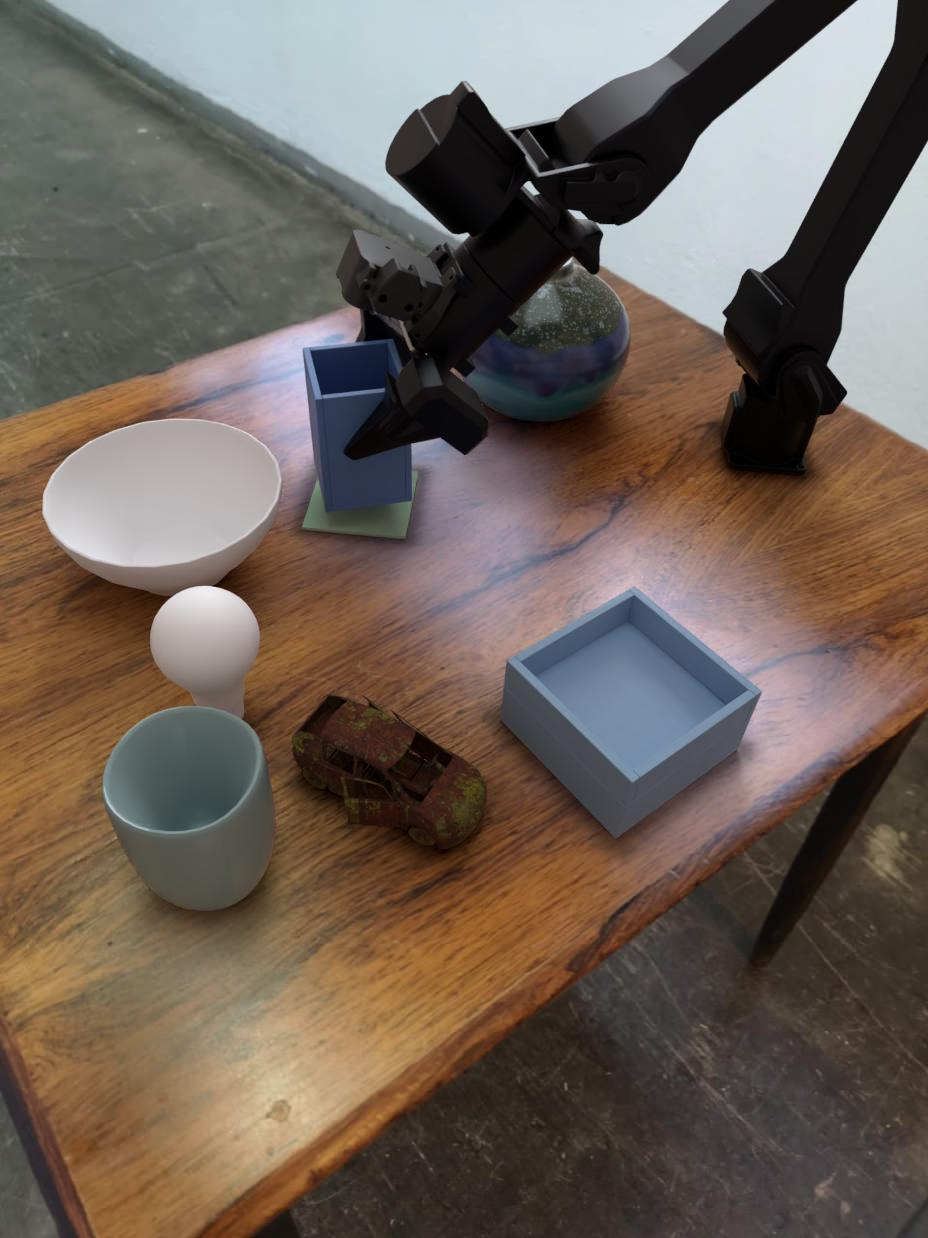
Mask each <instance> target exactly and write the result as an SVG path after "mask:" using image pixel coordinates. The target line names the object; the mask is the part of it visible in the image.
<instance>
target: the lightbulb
mask: <svg viewBox="0 0 928 1238" xmlns="http://www.w3.org/2000/svg"><path fill="white" fill-rule="evenodd" d="M152 621H153V622H152V625H151V629H150V634H149V635H150V637H149V638H150V639H149V645H150V651H151V654H152V658H153V660H154V662H155V664H156V667H157V668H158V669H159V670H160V672H161V673H162V674H163V675H164V677H166V678H167V679H168V680H170V681H171V682H172V683H174V684H175V685H177V686H178V687H180V688H181V689H183V690H186V691H187V692H188V693H189V694H190V696H191V698H192V701H193V702H194V704H195V706H203V707H211V708H215V709H219V710H223V711H226V712H228V713H231V714H233V715H235V716H237V717H239V718H241V719H242V720H243V718H244V716H245V704H244V698H245V692H246V689H245V687H246V686H245V678H246V676H247V675H248V674H249V672H250V671H251V669H252V667H253V665H254V663H255V661H256V659H257V657H258V654H259V650H260V644H261V632H260V627H259V623H258V620H257V617H256V616H255V614H254V613H253V611H252V609H251V608H250V607H249V605H248V604H247V603H246V602H245V601H244V600H243V599H242V598H241V597H240V596H238V595H236V594H235V593H233V592H232V591H230V590H227V589H224V588H221V587H216V586H197V587H192V588H188V589H186V590H183V591H181V592H179V593H177V594H176V595H174V596H171V597H170V598H168V599H167V600H166V601H165V603H163V605H162V606H161V607H160V609H159V610H158V611H157V613H156V615H155V616H154V619H153V620H152Z"/></svg>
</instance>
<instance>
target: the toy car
mask: <svg viewBox="0 0 928 1238" xmlns="http://www.w3.org/2000/svg"><path fill="white" fill-rule="evenodd" d="M362 697H363V698H364V699H365V700H366V701H367V702H368V705H366V704H365V703H364V704H363V703H361V702H359V701H356V700H354V699H351V698H349V697H346V696H345V697H344V696H341V695H337V694H336V695H335V694H328V695H327V696H326V697H325V698H324V699H322V701H320V703H318V705H317V706H316V707H315V709H314V710H313V711H312V712H311V713H310V714H309V715H308V716H307V718H306V719H305V720H304V721H303V722H302V723H301V725H300V726H299V727H298V728H297V729H296V730H295V732H294V733H293V734H292V738H291V743H292V748H291V751H292V755H293V759H294V762H295V763H296V765H297V767H298V769H299V770H300V771H302V770H303V769H304V768H305V769H304V770H303V771H302V774H303V777H304V779H305V780H306V781H307V782H308V783H309V784H310V785H311V786H313V787H314V788H316V789H319V790H325V789H326V788H328V790H329V792H332V793H334V794H335V795H338V796H340V797H342V798H343V804H344V807H345V810H346V819H347V825H354V826H372V827H386V828H387V827H388V828H401V829H402V830H403V831H407V830H408V835H409V837H410V838H411V839H412V840H413V841H415V842H416V843H418V844H421V845H424V846H434V845H435V844H436V845H437V848H439V849H441V850H447V849H450V848H454V847H456V846H459V844H461V843H462V842H463V841H464V840H466V839H467V838H468V836H470V834H471V833H472V832H473V831H474V829H475V828H476V826H477V825H478V823H479V821H480V820H481V818H482V817H483V815H484V813H485V810H486V807H487V806H486V805H487V801H488V800H487V799H488V787H487V785H486V782H485V780H484V778H483V777H482V774H481V772H480V770H479V769H478V767H477V766H475V765H473V764H472V763H470V761H467V760H466V759H464V758H463V757H461V756H460V755H458V754H456V753H455V752H453V751H451V750H450V749H447V748H446V747H444V746H442V745H440V744H438V743H437V742H436V741H434V740H432V739H431V738H430V737H429V736H428V735H427V734H426V733H424V732H423V731H421V729H419V728H418V727H416V726H415V725H414V724H412V723H411V722H410V721H408V720H406V719H405V718H404V717H403V716H401V715H400V714H398V713H397V712H395V711H394V710H392V709H390V710H389V711H390V712H391V713H392V714H393V715H394V717H395V718H394V717H393V716H391V715H389V714H387V712H385V710H383V709H382V708H381V707H380V706H378V705H377V704H376V703H375V702H373V701H372V700H371V699H369V698H368V697H367V696H365V695H362ZM410 751H412V752H413V753H412V752H410ZM414 753H415V754H414Z"/></svg>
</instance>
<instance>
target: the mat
mask: <svg viewBox="0 0 928 1238" xmlns="http://www.w3.org/2000/svg"><path fill="white" fill-rule="evenodd" d="M418 479H419V471H417V470H412V501H408V502H401V503H393V504H386V505H378V506H371V507H363V508H356V509H348V510H341V511H333V512H326V511H325V507H324V502H323V498H322V493H321V489H320V484H319V480H318V477H317V478H316V481H315V483H314V484H315V485H314V488H313V490H312V493H311V497H310V499H309V504H308V507H307V510H306V513H305V516H304V519H303V522H302V525H301V530H302V531H308V532H309V531H311V532H320V533H321V532H322V533H330V534H332V533H333V534H342V535H351V536H353V535H354V536H364V537H365V536H366V537H375V538H378V537H379V538H387V539H396V540H406V538H407V534H408V528H409V523H410V518H411V513H412V509H413V504H414V500H415V499H414V498H415V494H416V489H417V483H418Z"/></svg>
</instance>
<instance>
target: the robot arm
mask: <svg viewBox="0 0 928 1238" xmlns="http://www.w3.org/2000/svg"><path fill="white" fill-rule="evenodd" d="M858 1H859V0H728V1H726V2H725V3H724V4H723V5H722V6H720V7H719V9H717V10H716V11H715V12H714V13H713V14H711V16H709V17H707V19H705V21H704V22H702V23H701V24H700V25H699V26H698V27H697V28H696V29H694V30H693V31H692V32H691V33H690V34H689V35H688V36H686V37H685V38H684V39H683V40H682V41H680V42H679V43H678V44H677V45H676V46H675V47H674V48H673V49H672V50H670V51H669V53H667V54H666V55H664V56H663V57H661V58H660V59H658V60H657V61H655V62H654V63H652V64H651V65H648V66H646V67H644V68H641V69H638V70H635V71H632V72H630V73H627V74H624V75H621V76H619V77H614V78H613V79H611V80H610V81H608V82H607V83H605V84H603V85H602V86H600V87H599V88H597V89H596V90H594V91H593V92H591V93H590V94H588V95H586V96H585V97H583V98H582V99H580V100H578V101H577V102H575V103H574V104H573V105H571V106H570V107H568V108H567V109H566V110H564V113H563V114H561V116H556V117H552V118H547V119H543V120H538V121H533V122H528V123H523V124H519V125H515V126H510V127H504V126H503V125H502V124H501V123H500V122H499V121H498V120H497V118H496V117H495V116H494V115H493V114H492V113H491V112H490V110H489V108H488V106H487V105H486V103H485V102H484V101H483V99H482V98H481V97H480V95H479V94H478V92H477V91H476V90H475V89H474V87H473V86H471V84H470V83H469V82H468V81H467V80H462V81H460V82H459V83H458V84H457V86H456V87H455V88H454V89H453V90H452V91H451V92H450V93H449V94H442V95H439V96H437V97H434V98H433V99H432V100H430V101H429V102H427V103H426V104H425V105H423V106H422V107H421V108H416V109H414V110H413V111H412V112H411V113H410V115H408V117H407V118H406V119H405V120H404V122H403V123H402V125H400V126H399V129H398V131H397V132H396V134H394V137H393V138H392V141H391V143H390V145H389V147H388V150H387V152H386V156H385V161H384V164H385V165H384V166H385V172H386V173H387V174H388V175H389V176H390V177H391V178H392V179H393V180H394V181H395V182H396V183H397V184H398V185H399V186H400V187H401V188H403V189H404V190H405V192H407V193H408V194H409V195H410V196H411V197H412V198H413V199H414V200H415V201H416V202H417V203H418V204H420V205H421V206H422V207H423V208H424V209H425V210H426V211H427V213H429V214H430V215H431V216H432V217H433V218H434V219H435V220H436V221H437V222H438V223H440V224H441V225H442V226H443V227H444V228H445V229H446V230H447V231H448V232H450V233H451V234H452V235H458V236H459V235H463V234H468V236H467V238H465V240H463V241H462V242H461V243H460V244H459V246H458V247H456V249H455V248H454V247H453V246H452V245H451V244H450V243H448V241H445V243H444V244H442V243H440V244H437V245H436V246H435V247H434V248H433V249H432V250H431V251H430V252H429V253H428V254H427V255H423V254H421V253H419V252H417V251H414V250H413V249H411V248H409V247H407V246H405V245H403V244H401V243H398V242H395V241H392V240H389V239H388V238H384V237H382V236H380V235H376V234H373V233H371V232H369V231H366V230H362V229H357V228H355V229H353V230H352V232H351V234H350V236H349V240H348V242H347V244H346V247H345V248H344V252H343V254H342V257H341V259H340V262H339V264H338V265H337V266H338V267H337V269H336V272H335V277H336V279H338V280H339V283H340V286H341V297H342V298H343V299H344V301H345V302H346V303H348V304H349V305H350V306H352V307H353V308H356V309H359V314H360V315H359V316H360V330H359V333H358V335H357V337H356V339H355V341H354V343H356V342H366V341H376V340H386V339H393V341H394V344H395V346H396V349H397V352H398V355H399V357H400V360H401V363H402V366H403V368H402V369H401V371H400V374H399V376H398V379H396V378H395V377H393V376H392V375H391V374H389V373H388V372H387V371H385V374H384V387H385V396H384V399H383V400H382V401H381V403H380V404H379V405H378V406H377V408H376V409H375V410H374V411H373V412H372V414H371V415H370V416H369V417H368V419H367V420H366V421H365V422H364V423H363V425H362V426H361V427H360V428H359V430H358V431H357V432H356V433H355V434H354V436H353V437H352V439H351V440H350V441H349V443H348V444H347V446H346V447H345V449H344V454H345V456H347V457H348V458H350V459H352V460H359V459H362V458H365V457H369V456H372V455H375V454H379V453H382V452H385V451H388V450H392V449H395V448H398V447H402V446H406V445H409V444H412V445H413V444H417V443H422V442H427V441H432V440H438V439H441V440H443V442H445V443H446V444H448V445H449V446H450V447H452V448H453V449H455V450H456V451H458V452H459V453H460V454H462V456H468V455H470V454H471V452H473V451H474V450H475V449H476V448H477V447H479V445H480V444H482V443H483V442H484V441H485V440H486V439H487V438H488V436H489V423H490V421H489V417H488V416H487V413H486V411H485V408H484V406H483V404H482V401H480V399H479V397H478V395H477V393H476V391H475V390H473V389H472V388H471V387H470V386H468V385H467V384H466V383H465V382H464V380H463V379H461V378H459V376H458V375H456V374H455V373H454V372H453V371H451V370H452V369H454V370H455V371H456V372H458V373H459V374H460V376H461V375H463V376H464V377H465V378H466V377H467V376H468V375H469V374H470V373H471V372H472V371H473V370H474V369H475V368H476V367H475V365H474V363H473V361H472V358H471V355H472V354H473V353H474V352H475V351H476V350H477V349H478V348H479V347H480V346H481V345H482V344H483V343H484V342H485V341H486V340H487V339H488V338H490V337H491V336H492V335H493V334H494V333H495V332H496V331H497V330H498V329H500V330H501V331H502V332H503V333H504V334H506V335H507V336H508V337H509V336H510V335H511V334H512V333H513V332H514V331H515V330H516V329H517V328H518V327H519V326H518V324H517V322H516V320H515V318H514V316H513V314H514V313H515V312H516V311H517V310H518V309H519V308H520V307H521V306H522V305H523V304H524V303H525V302H526V301H527V300H529V299H530V298H531V297H532V296H533V295H534V294H535V293H536V292H537V291H538V290H539V289H540V288H541V287H542V286H543V285H544V284H545V283H546V282H547V281H548V280H549V279H550V278H551V277H552V276H553V275H554V274H555V273H556V272H557V271H558V270H559V269H560V268H561V267H562V266H563V265H564V264H565V263H566V262H567V261H569V260H570V259H571V258H572V257H573V258H574V260H576V261H577V262H578V263H579V264H580V266H581V267H583V268H585V269H586V270H587V271H588V272H589V273H590V274H591V275H597V274H598V273H599V272H600V270H601V252H600V251H601V243H602V241H603V237H604V232H603V230H601V228H600V226H599V225H615V226H617V227H619V226H623V225H625V224H628V223H630V222H632V221H633V220H635V219H636V218H638V217H640V216H642V214H643V213H644V212H645V211H646V210H647V209H648V208H649V207H650V206H651V205H652V204H653V203H654V202H655V201H656V200H657V199H658V197H659V196H660V195H661V194H662V193H663V192H664V191H665V190H666V189H667V188H668V187H669V185H670V184H671V183H672V182H673V181H674V180H675V179H676V178H677V177H678V176H679V175H680V174H681V172H682V170H683V169H684V167H685V164H686V162H687V161H688V159H689V157H690V155H691V153H692V150H693V149H694V147H695V145H696V143H697V141H698V140H699V138H700V137H701V135H702V134H703V133H704V132H705V131H706V130H707V129H708V128H709V127H710V126H711V125H712V124H713V122H715V121H716V120H717V119H718V118H719V117H721V116H722V115H723V114H724V113H725V112H727V111H728V110H729V109H730V108H731V107H733V106H734V105H735V104H736V103H738V101H740V100H741V99H742V98H743V97H744V96H745V95H747V94H748V93H749V92H750V91H752V89H754V88H755V87H757V86H758V84H760V83H761V82H762V81H763V80H764V79H766V78H767V77H768V76H769V75H771V74H772V73H773V72H774V71H775V70H776V69H778V68H779V67H780V66H781V65H782V64H783V63H785V62H786V61H788V59H790V58H791V57H792V56H793V55H795V53H797V52H798V51H799V50H801V49H802V48H803V47H805V45H806V44H808V43H809V42H810V41H811V40H813V38H815V37H816V36H817V35H818V34H819V33H821V32H822V31H823V30H825V29H826V27H828V26H829V25H830V24H832V23H833V22H834V21H835V20H836V19H837V18H838V17H840V16H841V15H842V14H843V13H845V12H846V11H847V10H848V9H849V8H851V7H852V6H853V5H854V4H856V2H858ZM893 36H894V37H893V41H892V42H893V43H892V46H891V48H890V50H889V53H888V55H887V56H886V59H885V61H884V63H883V65H882V67H881V68H880V71H879V72H878V75H877V76H876V78H875V80H874V82H873V84H872V86H871V88H870V90H869V92H868V93H867V95H866V97H865V99H864V101H863V103H862V105H861V106H860V109H859V111H858V113H857V115H856V117H855V119H854V121H853V123H852V124H851V127H850V128H849V130H848V132H847V135H846V136H845V138H844V140H843V142H842V144H841V146H840V148H839V150H838V152H837V154H836V156H835V158H834V159H833V162H832V163H831V165H830V167H829V169H828V171H827V173H826V175H825V176H824V179H823V180H822V183H821V185H820V187H819V188H818V191H817V192H816V195H815V196H814V198H813V200H812V202H811V205H810V206H809V208H808V210H807V212H806V214H805V216H804V217H803V219H802V221H801V223H800V226H799V227H798V229H797V231H796V233H795V235H794V237H793V239H792V241H791V243H790V245H789V246H788V248H787V250H786V252H785V253H784V255H783V256H782V257H781V258H780V259H778V260H776V261H775V262H774V263H772V264H771V265H770V266H769V267H767V268H765V269H764V270H762V272H761V271H760V270H757V269H754V268H750V267H749V268H747V269H746V270H745V271H744V273H742V275H741V278H740V281H739V283H738V284H739V285H738V287H737V290H736V291H735V295H734V296H733V297H732V299H731V301H730V303H729V304H728V305H727V306H726V307H725V308H724V309H723V310H722V312H721V313H722V315H723V316H724V317H725V318H726V319H725V322H724V325H723V333H722V335H723V337H724V341H725V343H726V346H727V348H728V349H729V350H730V352H731V353H732V354H733V355H734V361H735V363H736V365H737V366H738V367H740V368H741V369H742V371H743V372H744V373H743V374H742V375H741V380H740V381H739V382H740V383H739V386H738V389H737V390H733V391H732V392H730V394H729V397H728V401H727V404H726V407H725V410H724V414H723V419H722V422H721V426H720V429H719V432H720V439H721V446H722V448H723V449H724V450H725V453H726V458H727V459H726V460H727V465H728V466H729V468H731V469H737V470H748V471H759V472H770V473H771V472H772V473H782V474H794V475H804V474H806V472H807V471H808V465H807V461H806V458H805V455H806V453H807V449H808V446H809V443H810V441H811V438H812V435H813V433H814V430H815V428H816V425H817V421H818V419H819V418H820V416H823V417H824V416H829V415H833V414H834V413H835V411H836V410H837V409H838V408H839V406H840V405H841V404H842V402H843V401H844V399H845V398H846V397H847V396H848V390H847V388H846V387H844V385H843V384H842V383H841V381H840V380H839V379H838V377H837V376H836V374H835V373H834V372H833V371H832V370H831V368H830V367H829V366H828V363H829V362H830V359H831V357H832V355H833V352H834V350H835V348H836V345H837V342H838V340H839V339H840V335H841V333H842V330H843V329H842V328H843V320H844V319H843V318H844V307H845V306H844V305H845V296H846V288H847V284H848V282H849V280H850V278H851V276H852V274H853V272H855V269H856V268H857V265H858V264H859V262H860V261H861V259H862V257H863V255H864V254H865V251H866V250H867V249H868V247H869V245H870V243H871V242H872V240H873V238H874V236H875V234H876V232H877V231H878V229H879V227H880V225H881V224H882V222H883V220H884V219H885V217H886V216H887V213H888V212H889V211H890V208H891V206H892V205H893V202H894V201H895V200H896V198H897V196H898V195H899V192H900V191H901V189H902V187H903V186H904V184H905V183H906V180H907V178H908V177H909V175H910V173H911V171H912V170H913V168H914V166H915V165H916V163H917V161H918V159H919V158H920V156H921V154H922V152H923V151H924V149H925V148H926V146H927V144H928V0H897V3H896V15H895V24H894V35H893ZM528 182H530V183H531V185H532V186H533V188H534V190H536V191H537V192H538V193H537V194H533V193H532V192H531V191H530V190H529V189H528V188H527V187H526V186H525V184H526V183H528ZM571 211H574V212H580V213H581V214H582V215H583V216H585V219H584V218H583V219H581V218H576V217H575V216H574V215H573V214H572V213H571ZM598 224H599V225H598Z"/></svg>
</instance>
